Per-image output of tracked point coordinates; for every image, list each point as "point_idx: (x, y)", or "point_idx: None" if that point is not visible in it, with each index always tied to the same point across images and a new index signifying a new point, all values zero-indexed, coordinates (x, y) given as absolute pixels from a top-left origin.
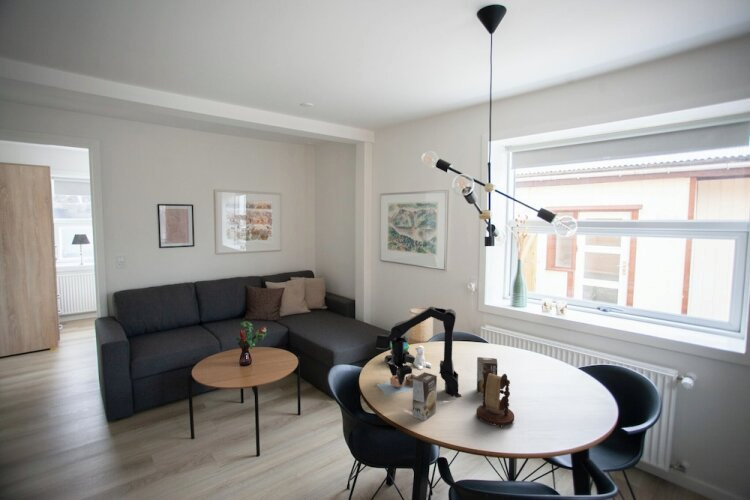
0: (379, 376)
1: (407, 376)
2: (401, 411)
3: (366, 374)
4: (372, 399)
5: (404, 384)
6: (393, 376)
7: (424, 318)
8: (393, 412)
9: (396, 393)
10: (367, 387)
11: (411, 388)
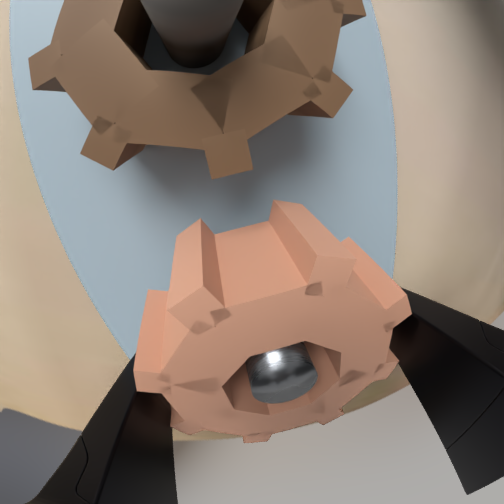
0: (11, 365)
1: (89, 118)
2: (500, 276)
3: (22, 411)
4: (351, 407)
5: (200, 177)
6: (217, 424)
7: None
8: (486, 311)
9: None
10: (195, 436)
11: (351, 109)
